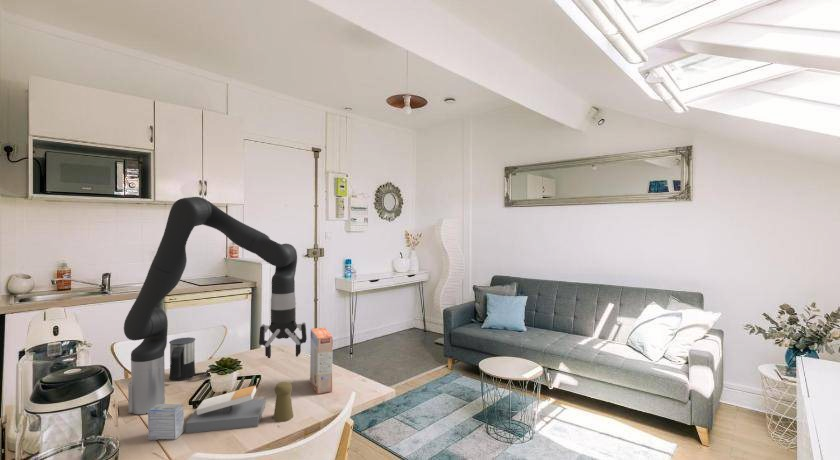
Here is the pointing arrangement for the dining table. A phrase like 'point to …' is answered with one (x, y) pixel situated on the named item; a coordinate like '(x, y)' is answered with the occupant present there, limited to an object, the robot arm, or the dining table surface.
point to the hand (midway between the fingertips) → (283, 356)
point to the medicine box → (165, 421)
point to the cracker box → (321, 360)
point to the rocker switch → (226, 400)
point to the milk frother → (183, 359)
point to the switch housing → (228, 417)
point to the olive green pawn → (283, 402)
